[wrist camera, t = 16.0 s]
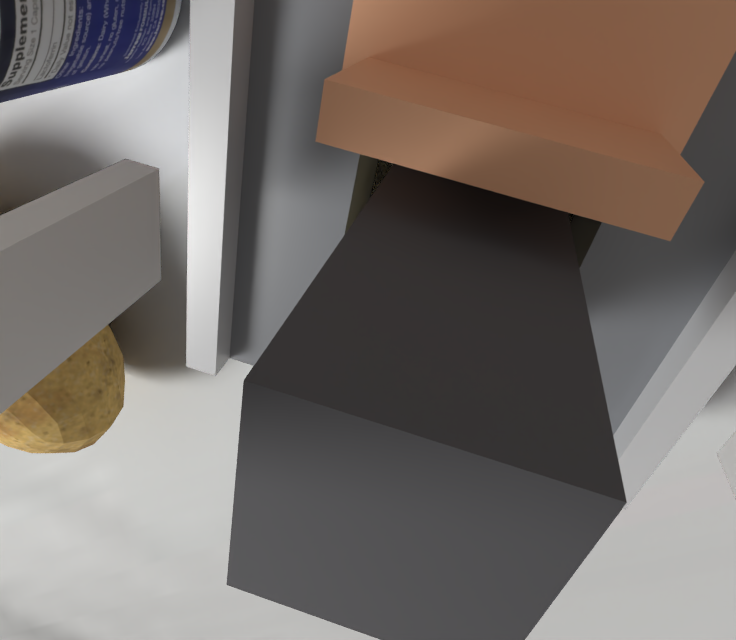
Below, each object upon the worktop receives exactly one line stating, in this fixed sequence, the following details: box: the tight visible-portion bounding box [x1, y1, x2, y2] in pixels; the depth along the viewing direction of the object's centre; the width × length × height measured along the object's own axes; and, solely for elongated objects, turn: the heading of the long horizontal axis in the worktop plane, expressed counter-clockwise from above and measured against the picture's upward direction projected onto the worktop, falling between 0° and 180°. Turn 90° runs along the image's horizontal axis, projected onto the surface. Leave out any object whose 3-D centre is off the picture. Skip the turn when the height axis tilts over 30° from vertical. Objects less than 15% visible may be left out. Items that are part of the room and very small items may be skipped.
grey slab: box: [186, 0, 736, 509], centre depth 13 cm, size 14×18×4 cm
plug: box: [227, 164, 627, 640], centre depth 12 cm, size 4×4×12 cm
